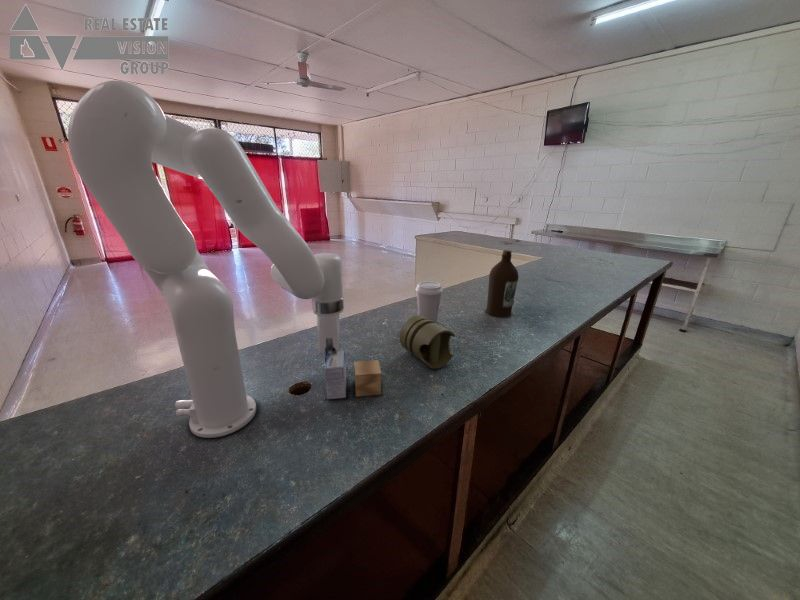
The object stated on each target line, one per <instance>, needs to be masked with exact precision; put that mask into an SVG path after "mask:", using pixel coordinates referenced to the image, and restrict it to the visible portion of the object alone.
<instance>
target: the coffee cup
mask: <svg viewBox="0 0 800 600" xmlns="http://www.w3.org/2000/svg"><path fill="white" fill-rule="evenodd" d="M415 292H416V302H417V315H422V316H424V317H426V318H428V319H430V320H432V321H433V322H435V323H437V322H438V316H439V310H440V305H441V297H442V294H443V293H444V289H443V287H442V284H441V283H439V282H437V281H430V280H426V281H424V280H423V281H420V282H418V284H417V285H416V287H415ZM437 324H438V323H437Z"/></svg>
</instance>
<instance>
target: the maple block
mask: <svg viewBox="0 0 800 600" xmlns="http://www.w3.org/2000/svg"><path fill="white" fill-rule="evenodd" d="M353 365H354V388H355V389H354V391H355V397H365V396H366V397H367V396H368V397H369V396H379V395H382V372H381V366H380V361H379V359H372V360H371V359H370V360H358V361H357V360H356V361H354V362H353Z"/></svg>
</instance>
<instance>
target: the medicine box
mask: <svg viewBox="0 0 800 600" xmlns="http://www.w3.org/2000/svg"><path fill="white" fill-rule="evenodd" d="M346 363H347V362H346V351H345V350H344V349H343V350H342V349H341V350H338V351H337V352H336V351H333V354H331V355H328V352H327V360H326V363H325V367H324V377H325V389H326V391H325V392H326V399H327V400H338V399H346V398H347V364H346Z"/></svg>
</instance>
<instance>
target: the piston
mask: <svg viewBox="0 0 800 600" xmlns="http://www.w3.org/2000/svg"><path fill="white" fill-rule="evenodd" d="M451 337H453V338H455V337H456V335H455V333H454V332H452V331H451V330H450V329H447V328H445V327H444V326H442V325H440V324H438V323H435V322H433V321H432V320H430V319H428V318H426V317H424V316H422V315H418V314H417V315H413V316H412V317H409V318H408V319H407V320H406V321H405V322H404V324H403V325H402V327H401V329H400V331H399V343H400V345H401V347H402V348H404V349H405V350H406V351H407V352H409V353H410V354H411V355H412V356H414V357H415V358H416V359H418V360H419V361H420V362H421V363H422V364H424V365H426V366H427V367H429V368H430V369H434V370H435V369H441V368H442V367H444V366H446V365H447V364H448V363H449V362H450V361H451V359H453V357H454V353H453V352H452V349H451Z"/></svg>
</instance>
